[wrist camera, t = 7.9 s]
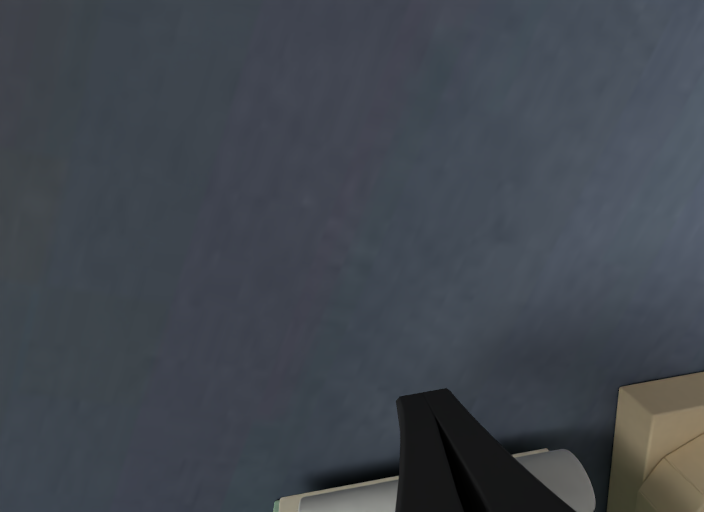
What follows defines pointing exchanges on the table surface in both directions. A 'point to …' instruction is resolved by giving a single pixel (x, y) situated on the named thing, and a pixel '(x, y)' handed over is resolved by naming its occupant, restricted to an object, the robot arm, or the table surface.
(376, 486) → the cream pull-out drawer
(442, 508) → the robot arm
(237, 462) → the table surface
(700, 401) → the control block
